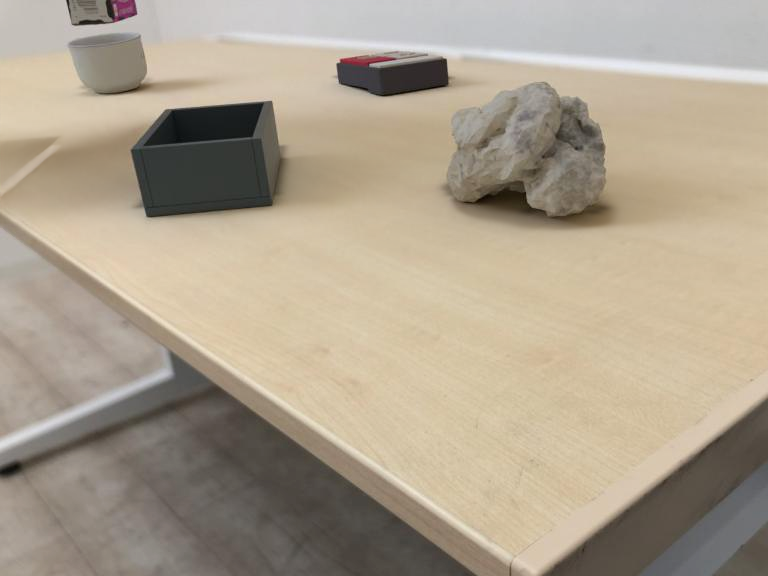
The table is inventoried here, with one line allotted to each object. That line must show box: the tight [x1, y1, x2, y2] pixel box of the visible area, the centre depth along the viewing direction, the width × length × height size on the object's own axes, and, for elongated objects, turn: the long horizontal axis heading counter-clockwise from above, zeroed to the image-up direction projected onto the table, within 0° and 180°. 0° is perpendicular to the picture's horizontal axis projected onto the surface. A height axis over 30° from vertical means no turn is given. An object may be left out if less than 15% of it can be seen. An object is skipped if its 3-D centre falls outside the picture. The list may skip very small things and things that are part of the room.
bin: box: [130, 100, 282, 218], centre depth 75 cm, size 11×17×6 cm, turn 8°
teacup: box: [66, 31, 148, 94], centre depth 126 cm, size 14×11×8 cm
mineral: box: [446, 81, 607, 218], centre depth 65 cm, size 12×17×10 cm
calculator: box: [335, 50, 450, 96], centre depth 118 cm, size 11×4×15 cm
